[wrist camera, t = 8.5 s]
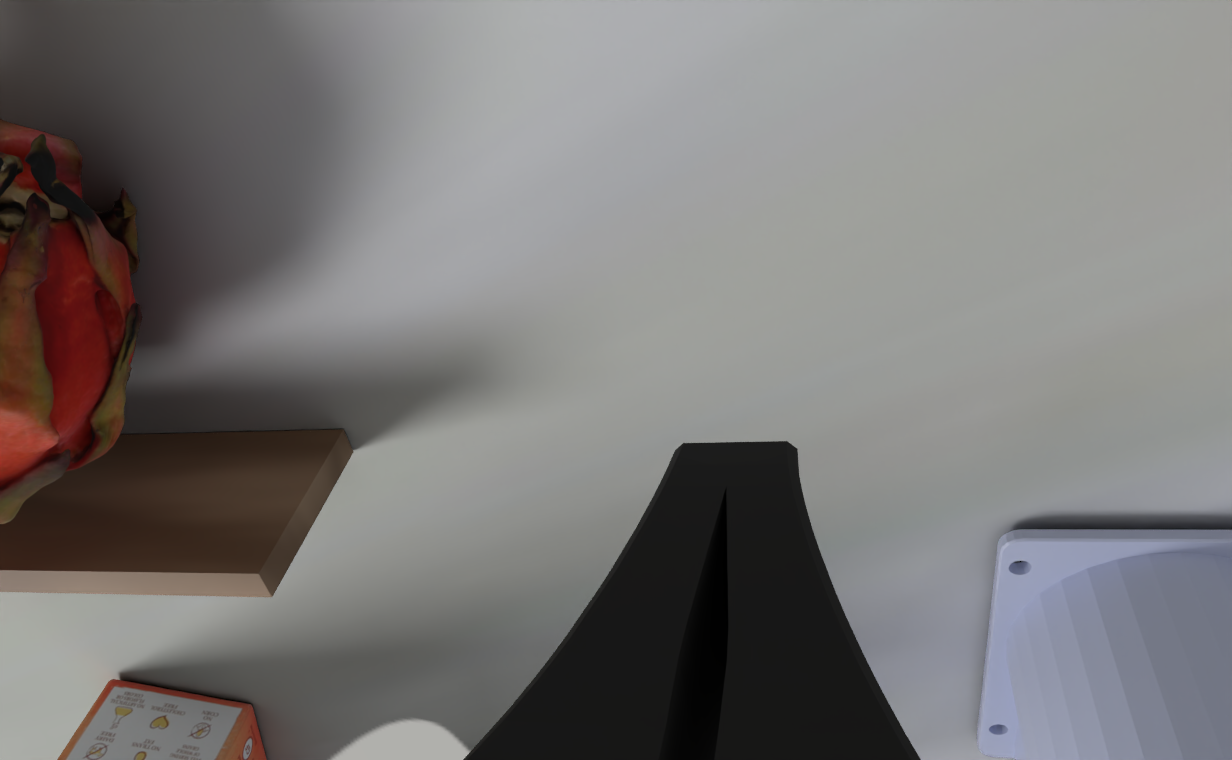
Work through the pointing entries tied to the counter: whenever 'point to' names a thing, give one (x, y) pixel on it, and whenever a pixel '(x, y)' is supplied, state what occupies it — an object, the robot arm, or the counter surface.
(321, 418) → the counter surface
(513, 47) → the counter surface
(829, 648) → the robot arm
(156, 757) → the cracker box
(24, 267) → the dragon fruit
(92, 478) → the box
